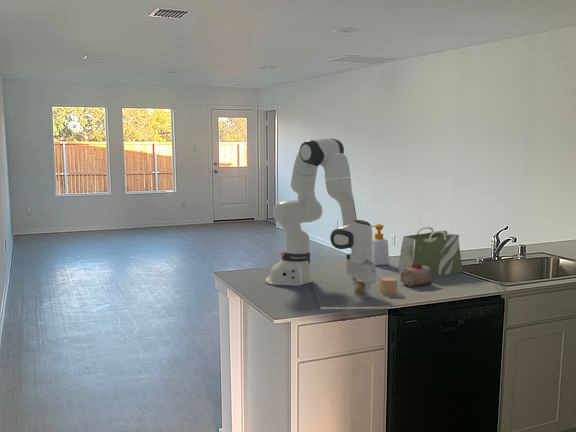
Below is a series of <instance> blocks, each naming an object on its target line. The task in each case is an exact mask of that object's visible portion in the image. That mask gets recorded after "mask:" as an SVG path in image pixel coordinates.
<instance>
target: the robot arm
mask: <svg viewBox="0 0 576 432" xmlns="http://www.w3.org/2000/svg"><path fill="white" fill-rule="evenodd" d="M344 153H345V148H344V144H343V143H342V142H341V141H340V140H338V139H335V138H317V139H309V140H306V141H303V142H302V143H301V144H300V147H299V151H298V152H297V155H296V157H295V160H294V164H293V167H292V168H293V169H292V173H291V180H290V181H291V182H290V188H291V189H292V191H293V192H294V193H295V194H297V198H296V199H295V200H283V201H281V202H278V203H276V204H275V205H274V207H273V209H272V210H273V211H272V215H273V219H274V220H275V222H276V223H278V224H279V225H280V227H281V228H282V230H283V233H284V236H285V251H281V252H280V256H281V260H279V262H277V263H276V264H275V265H273V266H272V267H271V268H270V272H269V275H268V276H266V277H265V280H264V281H265V283H266V284H268V285H271V286H272V285H273V286H275V285H276V286H295V287H297V286H298V287H299V286H302V285H306V284H311V283H312V282H313V277H312V274H311V266H310V265H311V252H310V236H309V234H308V233H307V232H306V231H304V230H303V229H302V226H301V224H304V223H312V222H315V221H317V220H320V219H321V217H322V215H323V207H322V204H321V203H320V201H318V199H317V197H316V194H315V188H316V187H315V186H316V179H317V174H318V167H319V166H322V168H323V170H324V179H325V188H326V191H327V195H329V197H331V198H332V199H334V200H335V201H336V202H337V203H338V205H339V207H340V211H341V218H342V226H340V227H337V228H335V229H334V230H332V231H331V233H330V236H329V238H330V239H329V240H330V243H331V245H332V246H333V247H334V248H335V249H338V250H346V249H350V251H351V252H350V253H348V254H345V259H346V264H345V265H346V269H345V270H346V274H347V275H348V276H350V277H351V281H352V286H353V288H355V281H364V282H365V284H366V286H365V288H364V292H369V289H371V286H372V284H373V285H374V284H376V283H377V280H378V279H377V278H378V277H377V275H378V274H377V268H376V267H377V266H375V265H374V264H373V262H372V248H371V244H372V238H373V227H371V226H372V224H371V223H370V222H368V221H366V220H363V219H362V220H361V219H358V218H357V213H356V208H355V199H354V195H353V189H352V188H353V187H352V177H351V169H350V164H349V161H348V157H347V156H346V155H345V154H344Z"/></svg>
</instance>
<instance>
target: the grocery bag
mask: <svg viewBox="0 0 576 432" xmlns="http://www.w3.org/2000/svg"><path fill="white" fill-rule="evenodd" d="M426 229H427V230H428V229H429V230H431V232H426V233H420V232H421V231H423V230H426ZM461 258H462V257H461V250H460V235H459V234H453V233H451V234H450V233H449V232H448V231H447V230H437V231H434V229H433V227H430V226H427V227H422V228H420V229H419V230H417V232H416V234H412V235H411V234H410V235H405V236H403V237H402V242H401V247H400V255H399V260H398V261H399V262H398V269H397V273H398V274H400V275H401V272H402V271H403V269H405V268H411V266H412V265H413V263H414V264H415V265H418V264H419V265H421V266H428V267H429V268H431V274H432V275H431V276H432V277H433V276H435V277H436V276H443V275H449V274H459V272H461V273H464V269H463V268H464V267H463V263H462V259H461Z"/></svg>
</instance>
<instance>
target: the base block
mask: <svg viewBox="0 0 576 432" xmlns="http://www.w3.org/2000/svg"><path fill="white" fill-rule="evenodd" d="M379 280H380V281H379V289H380V291H381V293H382V294H397V288H398V280H397V279H396V278H395V277H393V276H392V277H390V276H389V277H387V276H386V277H380V278H379Z"/></svg>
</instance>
